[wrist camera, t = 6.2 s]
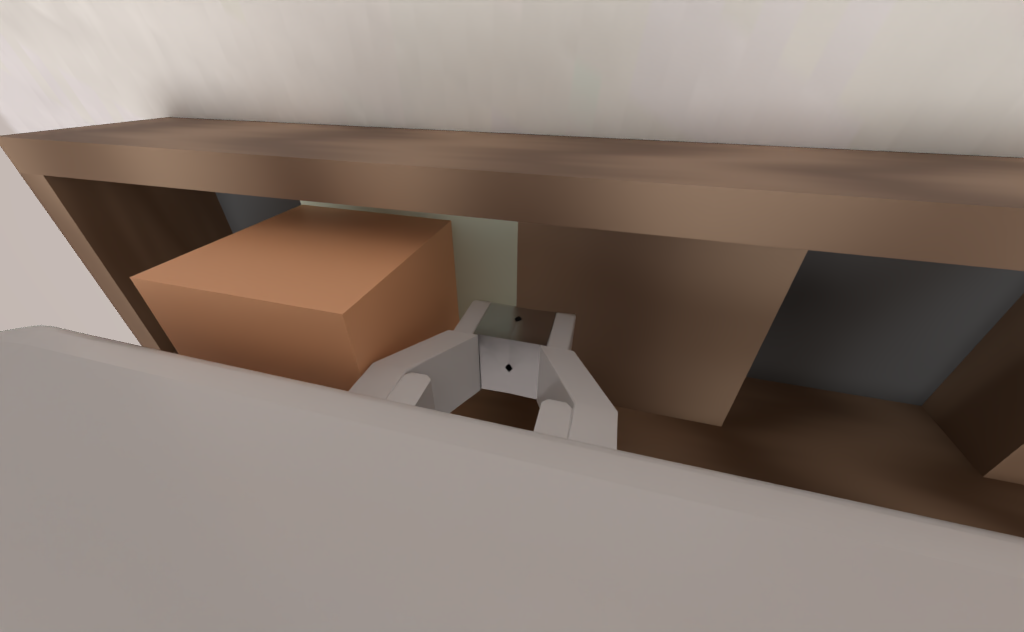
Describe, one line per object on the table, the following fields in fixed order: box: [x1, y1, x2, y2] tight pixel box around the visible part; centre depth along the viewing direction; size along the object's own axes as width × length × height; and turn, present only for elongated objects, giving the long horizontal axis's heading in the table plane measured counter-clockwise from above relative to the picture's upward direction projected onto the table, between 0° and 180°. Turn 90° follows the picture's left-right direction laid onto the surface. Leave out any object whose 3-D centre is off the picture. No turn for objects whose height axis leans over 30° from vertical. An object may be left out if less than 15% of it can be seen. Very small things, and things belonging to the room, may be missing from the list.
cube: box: [130, 205, 459, 391], centre depth 10 cm, size 5×5×5 cm
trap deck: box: [0, 117, 1024, 538], centre depth 12 cm, size 32×9×5 cm, turn 90°
